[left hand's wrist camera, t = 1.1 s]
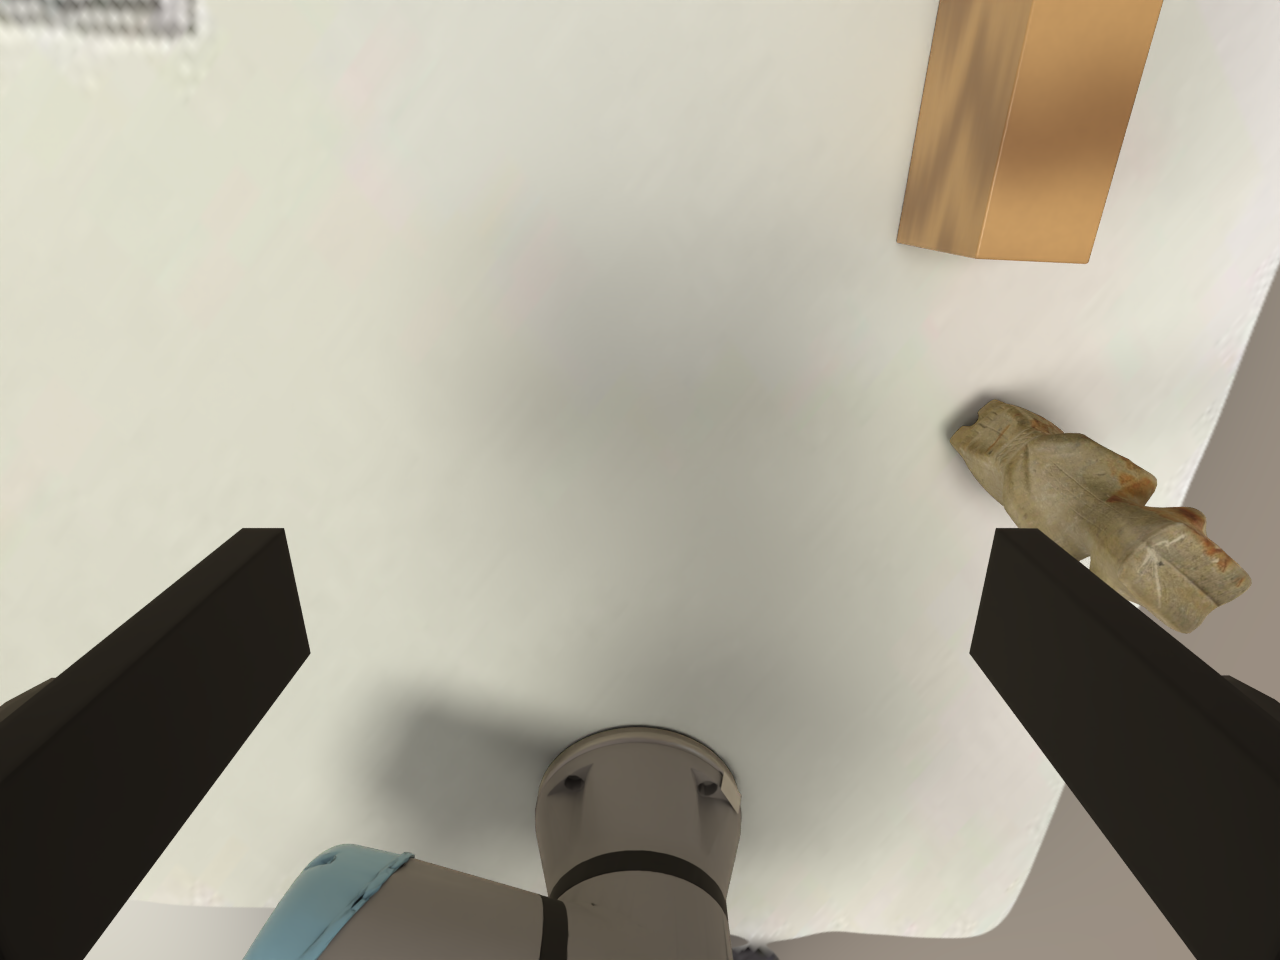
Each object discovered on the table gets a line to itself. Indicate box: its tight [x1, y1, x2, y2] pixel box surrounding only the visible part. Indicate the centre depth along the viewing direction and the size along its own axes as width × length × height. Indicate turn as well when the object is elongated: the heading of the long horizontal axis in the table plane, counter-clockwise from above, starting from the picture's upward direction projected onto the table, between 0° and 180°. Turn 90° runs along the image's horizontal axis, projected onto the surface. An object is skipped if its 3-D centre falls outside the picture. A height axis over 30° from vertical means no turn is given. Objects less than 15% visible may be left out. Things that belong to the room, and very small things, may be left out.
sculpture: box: [950, 400, 1252, 634], centre depth 33 cm, size 6×7×15 cm
